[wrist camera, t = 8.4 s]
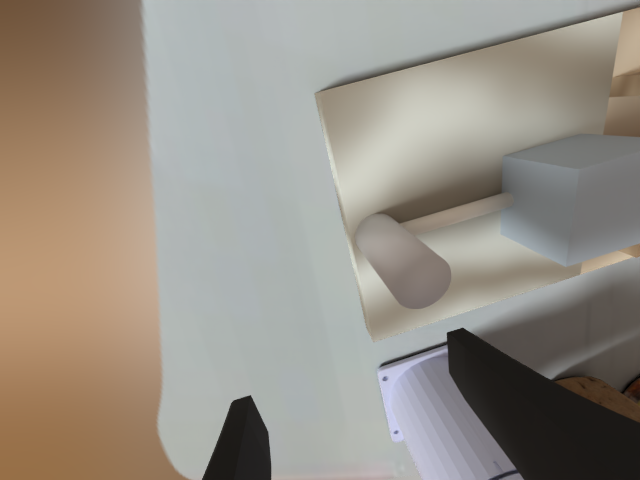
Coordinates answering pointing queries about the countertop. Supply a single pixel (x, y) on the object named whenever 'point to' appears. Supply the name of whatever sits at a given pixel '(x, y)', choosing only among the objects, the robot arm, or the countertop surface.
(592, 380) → the block
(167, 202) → the countertop surface
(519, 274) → the shelf lane
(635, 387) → the sauce bottle
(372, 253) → the block
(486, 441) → the robot arm
